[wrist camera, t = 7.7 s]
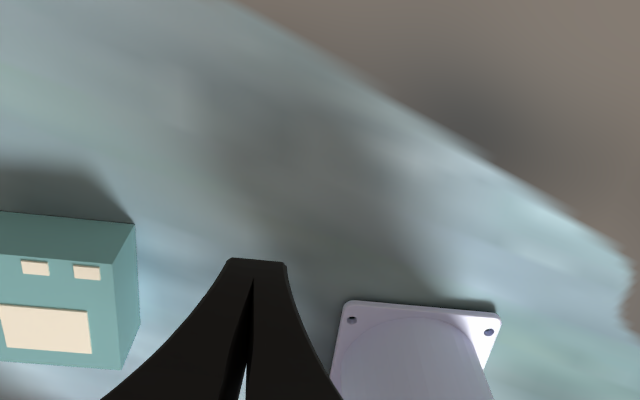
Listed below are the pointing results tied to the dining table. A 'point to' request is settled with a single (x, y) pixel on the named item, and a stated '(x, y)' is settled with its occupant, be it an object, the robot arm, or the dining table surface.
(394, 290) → the dining table surface
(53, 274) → the teal toy building
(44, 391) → the dining table surface
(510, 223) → the dining table surface
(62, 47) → the dining table surface
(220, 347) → the robot arm
